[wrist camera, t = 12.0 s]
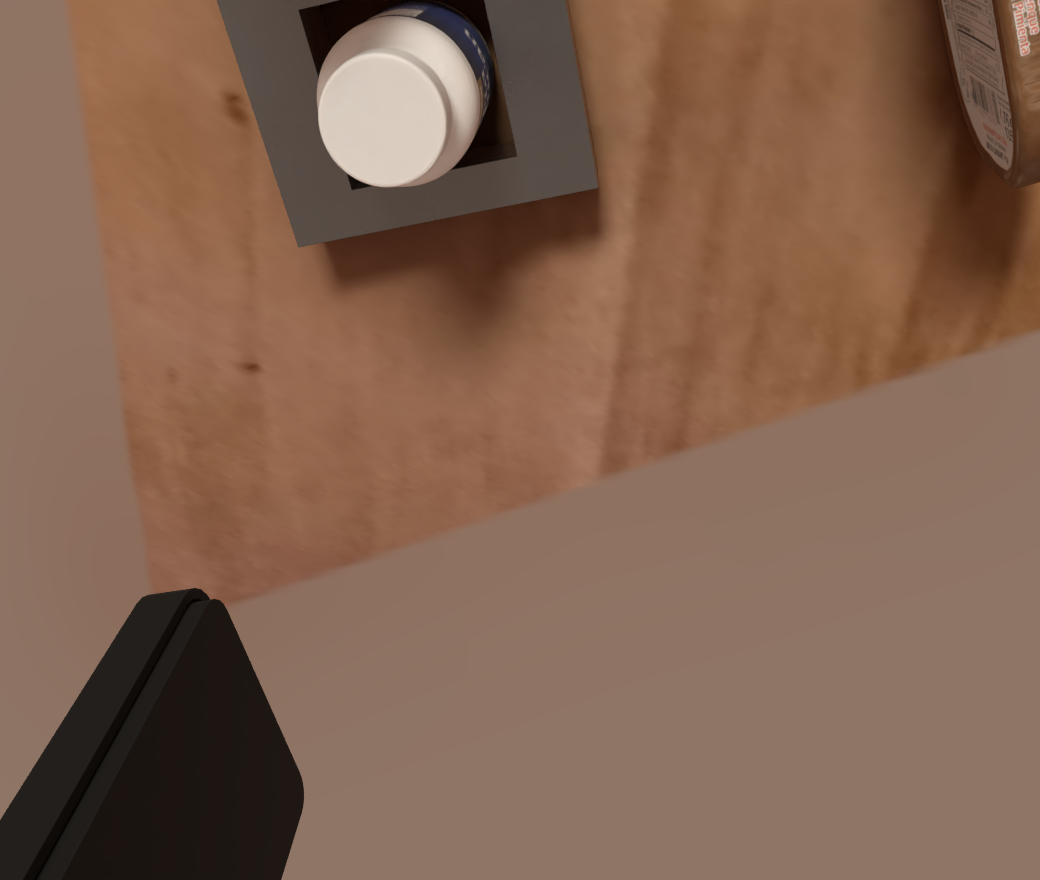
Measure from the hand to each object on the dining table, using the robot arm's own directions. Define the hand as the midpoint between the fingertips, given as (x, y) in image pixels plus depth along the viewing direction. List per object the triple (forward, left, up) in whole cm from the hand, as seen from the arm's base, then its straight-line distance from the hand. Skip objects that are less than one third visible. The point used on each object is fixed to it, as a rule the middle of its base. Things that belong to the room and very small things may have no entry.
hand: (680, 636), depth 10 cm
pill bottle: (+7, -2, -32) cm, 33 cm away
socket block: (+7, -2, -32) cm, 33 cm away
